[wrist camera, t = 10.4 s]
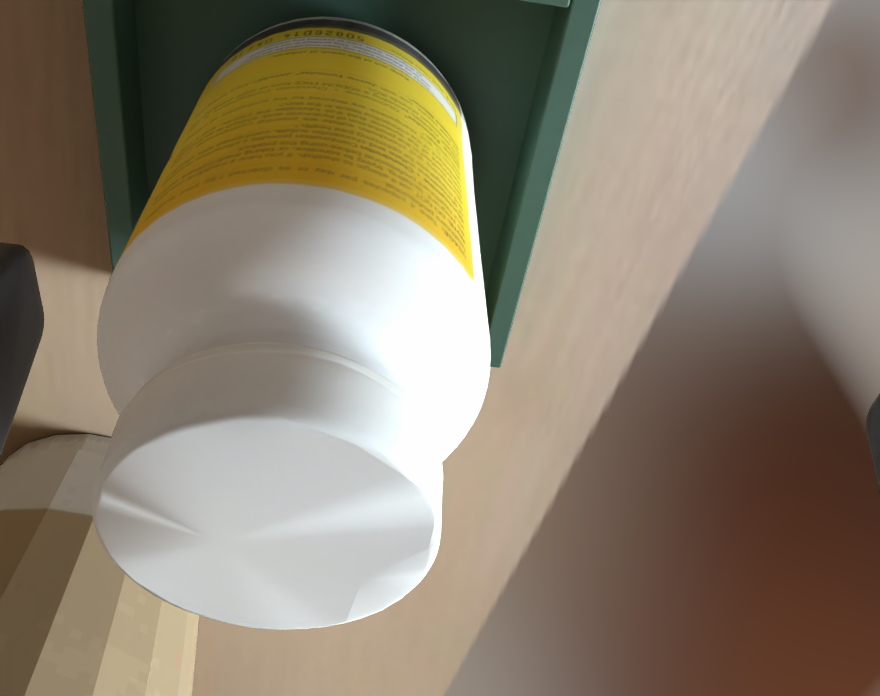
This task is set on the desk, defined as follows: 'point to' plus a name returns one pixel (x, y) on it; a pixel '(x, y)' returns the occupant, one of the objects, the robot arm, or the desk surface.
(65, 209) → the desk surface
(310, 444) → the pill bottle
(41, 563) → the coffee cup
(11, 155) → the desk surface
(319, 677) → the desk surface
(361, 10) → the tray
